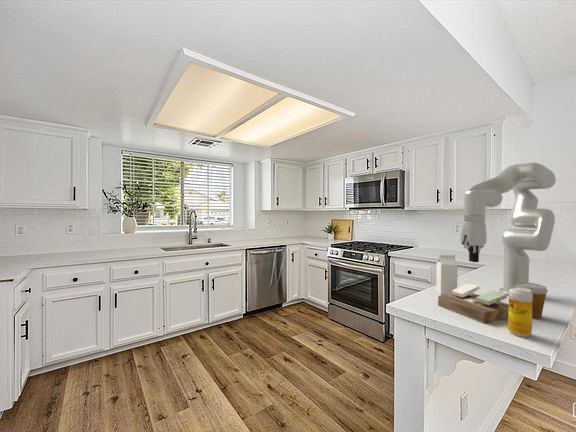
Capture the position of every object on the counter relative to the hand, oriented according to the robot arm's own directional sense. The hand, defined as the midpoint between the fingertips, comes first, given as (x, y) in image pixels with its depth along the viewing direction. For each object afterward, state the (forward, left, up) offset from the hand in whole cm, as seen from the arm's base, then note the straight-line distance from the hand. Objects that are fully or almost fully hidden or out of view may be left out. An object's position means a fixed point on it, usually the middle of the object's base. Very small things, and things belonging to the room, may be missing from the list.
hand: (473, 261), depth 123 cm
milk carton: (-2, -15, -19) cm, 24 cm away
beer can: (+12, +26, -19) cm, 34 cm away
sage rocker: (+4, +11, -13) cm, 17 cm away
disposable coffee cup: (-9, +17, -19) cm, 27 cm away
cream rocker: (+4, 0, -13) cm, 13 cm away
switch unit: (+6, +6, -19) cm, 20 cm away
